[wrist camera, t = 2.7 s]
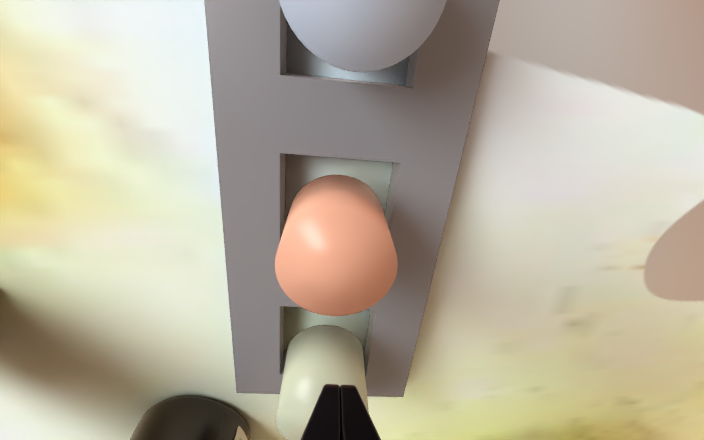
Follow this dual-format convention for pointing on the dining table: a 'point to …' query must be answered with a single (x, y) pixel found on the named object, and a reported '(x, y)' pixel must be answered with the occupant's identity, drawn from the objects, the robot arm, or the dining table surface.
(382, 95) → the button panel
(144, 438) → the ink bottle
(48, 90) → the dining table surface
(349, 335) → the sage button
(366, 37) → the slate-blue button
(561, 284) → the dining table surface
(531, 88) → the dining table surface
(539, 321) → the dining table surface
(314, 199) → the terracotta button
